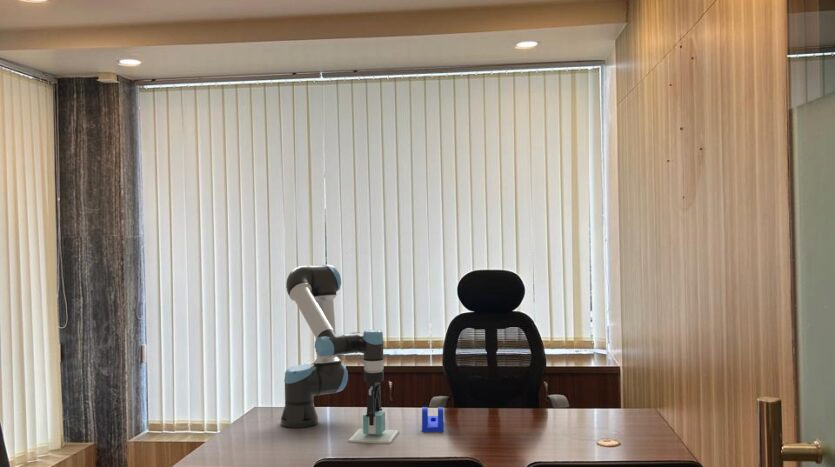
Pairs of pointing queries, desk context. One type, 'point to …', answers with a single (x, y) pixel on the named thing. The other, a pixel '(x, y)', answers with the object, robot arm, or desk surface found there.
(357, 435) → the white square tray
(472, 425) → the desk surface
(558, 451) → the desk surface
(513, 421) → the desk surface
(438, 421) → the bracket
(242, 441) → the desk surface
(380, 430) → the cube
